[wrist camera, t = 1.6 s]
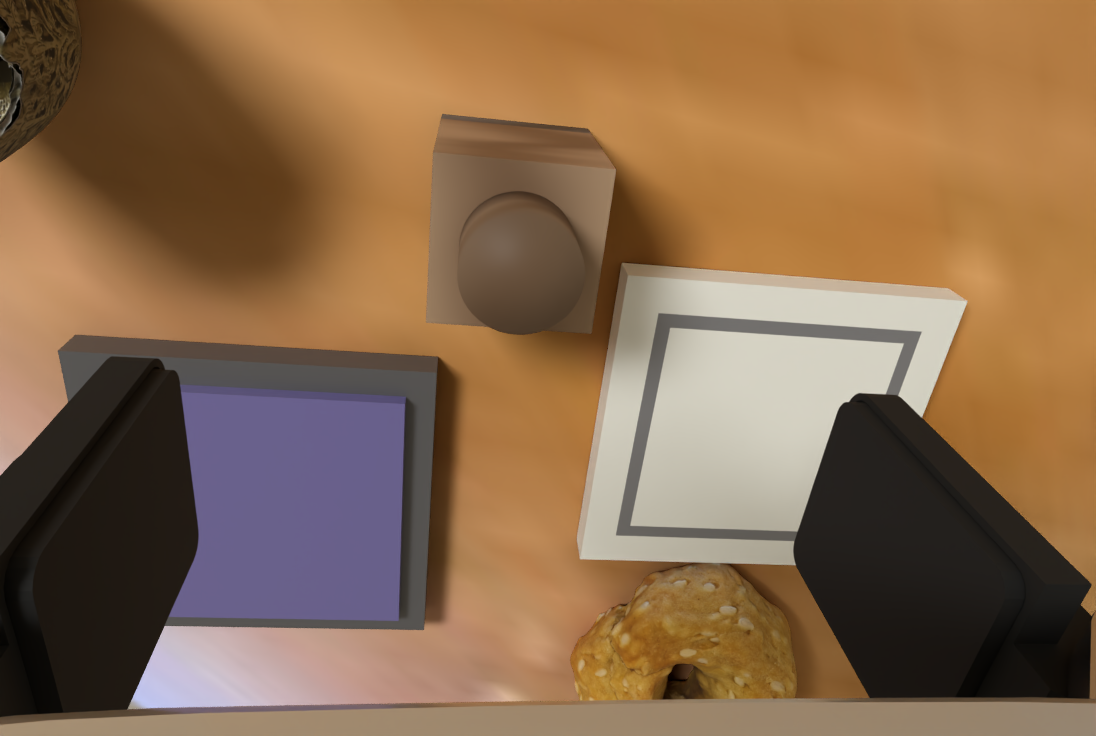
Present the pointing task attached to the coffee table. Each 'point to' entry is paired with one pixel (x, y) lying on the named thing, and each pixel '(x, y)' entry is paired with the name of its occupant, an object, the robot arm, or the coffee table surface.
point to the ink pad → (298, 480)
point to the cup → (35, 66)
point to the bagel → (688, 641)
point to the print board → (740, 403)
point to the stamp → (517, 225)
